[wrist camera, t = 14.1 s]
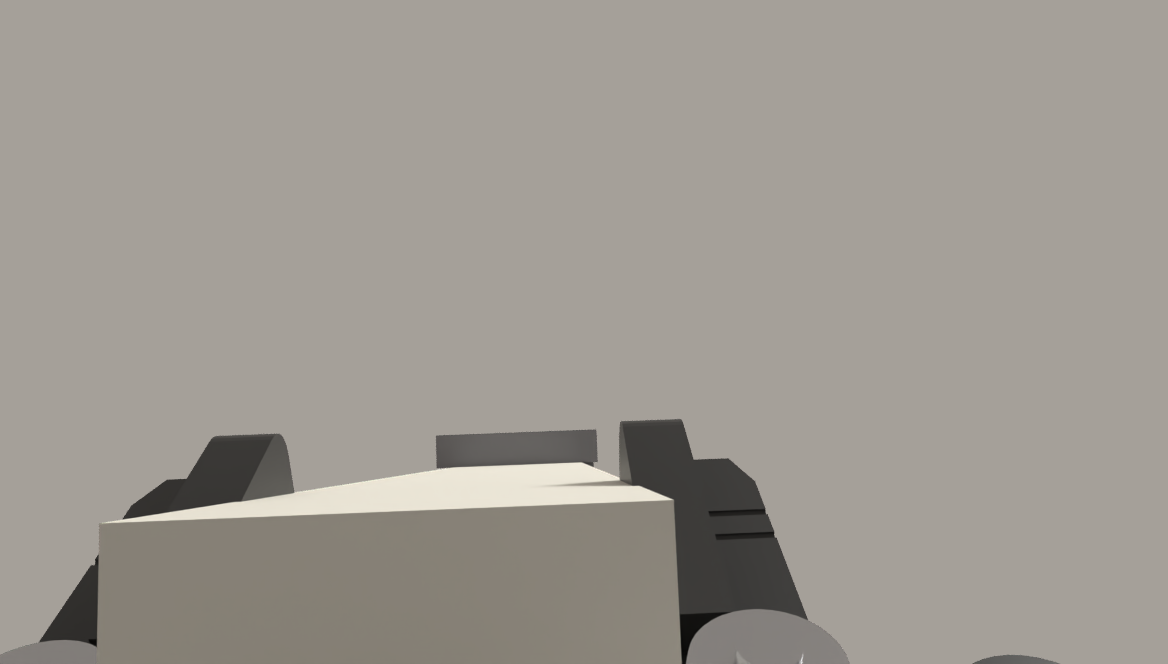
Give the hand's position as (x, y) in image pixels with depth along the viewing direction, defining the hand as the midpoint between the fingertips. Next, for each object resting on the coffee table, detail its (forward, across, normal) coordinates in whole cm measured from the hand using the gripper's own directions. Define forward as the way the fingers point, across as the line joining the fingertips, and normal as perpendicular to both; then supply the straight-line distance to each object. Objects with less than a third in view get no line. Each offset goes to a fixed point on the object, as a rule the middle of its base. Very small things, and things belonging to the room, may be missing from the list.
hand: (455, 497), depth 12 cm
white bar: (+6, 0, +9) cm, 11 cm away
